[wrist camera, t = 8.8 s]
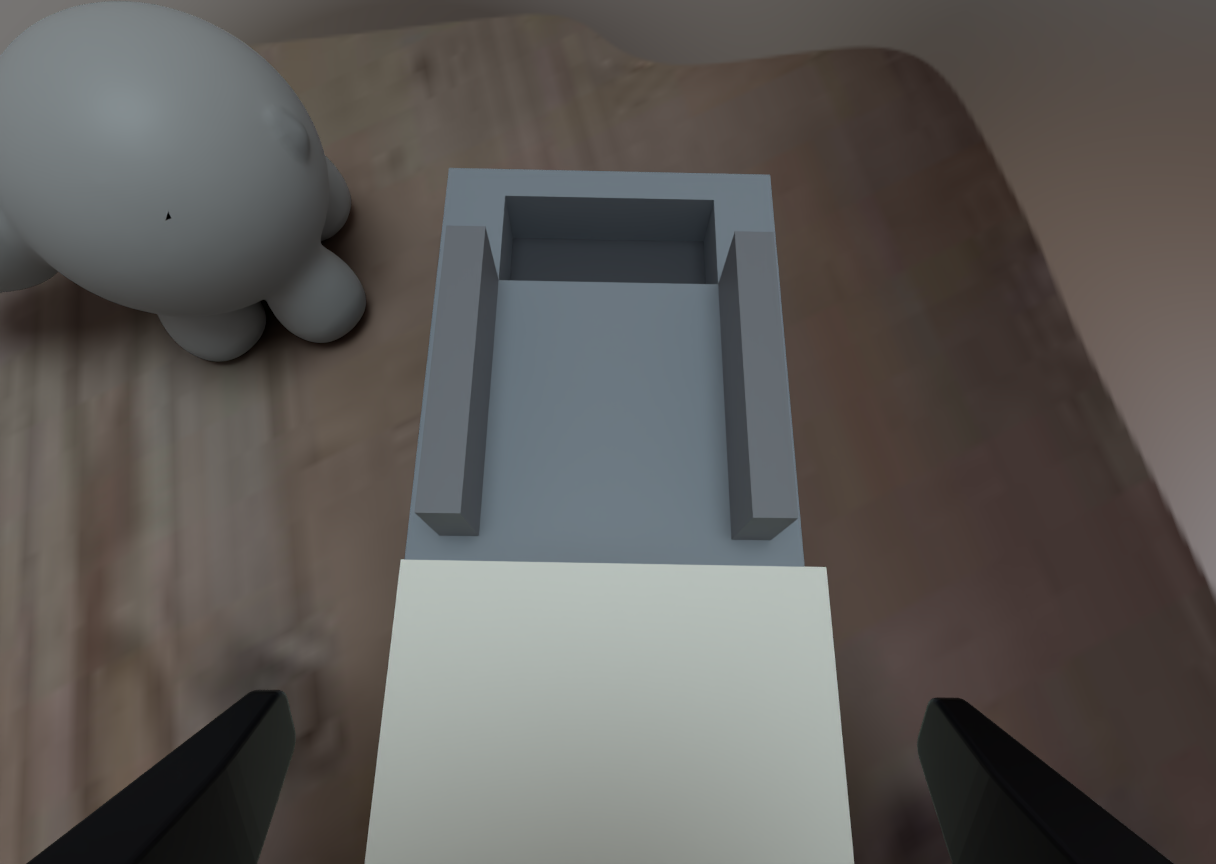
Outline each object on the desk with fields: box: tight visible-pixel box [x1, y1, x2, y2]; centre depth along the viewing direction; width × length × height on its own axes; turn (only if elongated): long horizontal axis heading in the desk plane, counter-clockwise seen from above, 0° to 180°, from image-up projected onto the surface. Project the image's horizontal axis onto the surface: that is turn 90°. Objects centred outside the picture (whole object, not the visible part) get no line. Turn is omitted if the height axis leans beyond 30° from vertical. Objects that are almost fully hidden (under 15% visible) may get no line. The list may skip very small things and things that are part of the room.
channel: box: [405, 168, 804, 567], centre depth 17 cm, size 22×10×5 cm, turn 179°
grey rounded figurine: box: [0, 1, 366, 361], centre depth 18 cm, size 8×12×9 cm, turn 100°
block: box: [365, 560, 854, 864], centre depth 11 cm, size 4×4×10 cm
